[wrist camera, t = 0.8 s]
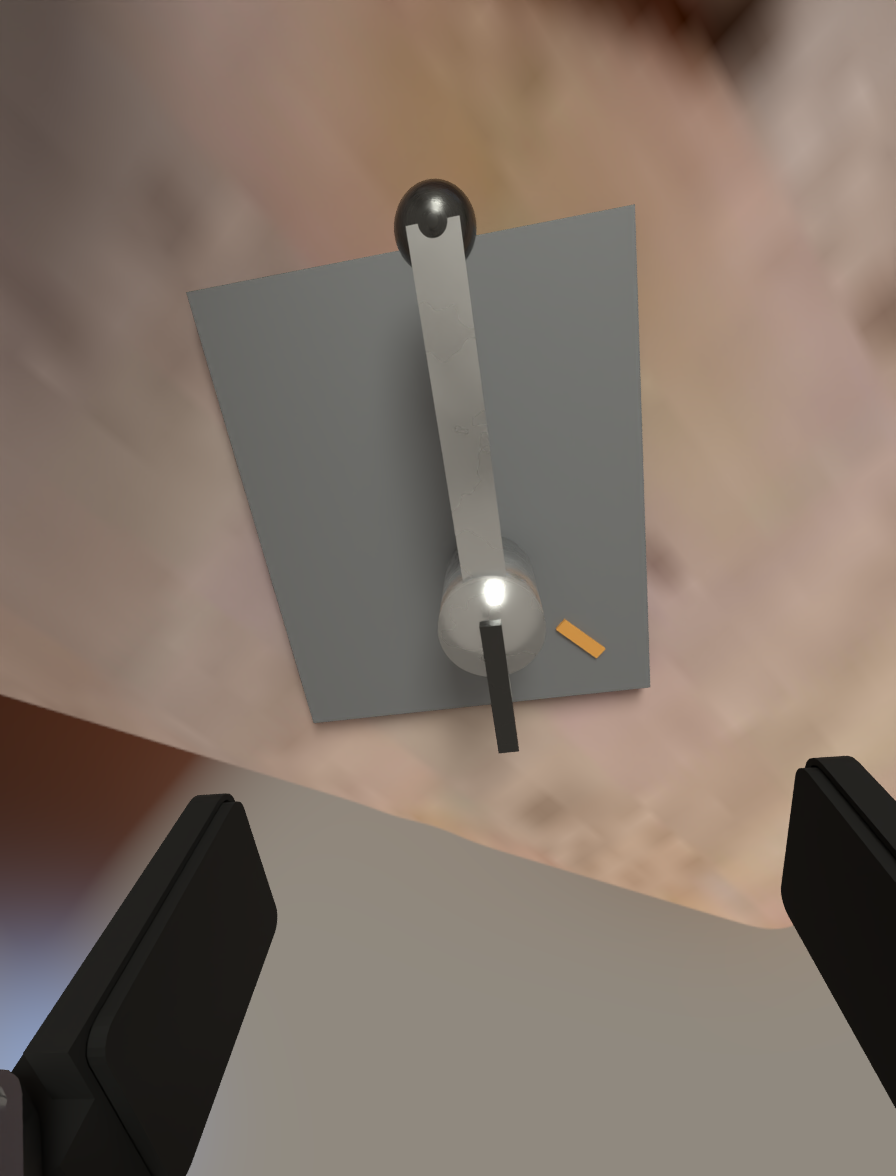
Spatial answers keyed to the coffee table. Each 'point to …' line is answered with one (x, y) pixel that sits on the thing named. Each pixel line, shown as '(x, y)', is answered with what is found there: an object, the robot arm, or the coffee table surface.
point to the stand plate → (415, 462)
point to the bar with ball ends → (468, 459)
